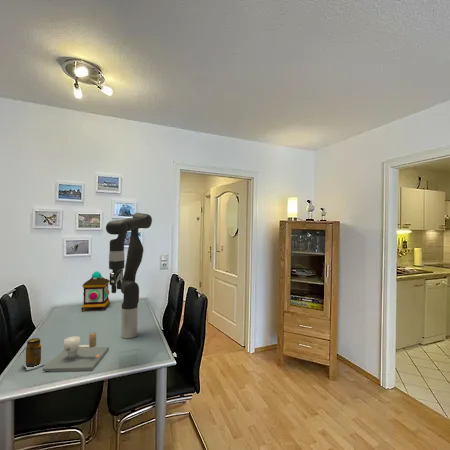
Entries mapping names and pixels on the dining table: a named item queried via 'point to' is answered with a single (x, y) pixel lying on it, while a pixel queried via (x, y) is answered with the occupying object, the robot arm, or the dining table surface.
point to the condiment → (33, 352)
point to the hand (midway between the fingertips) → (116, 291)
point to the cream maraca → (74, 343)
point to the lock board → (76, 360)
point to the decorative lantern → (96, 292)
